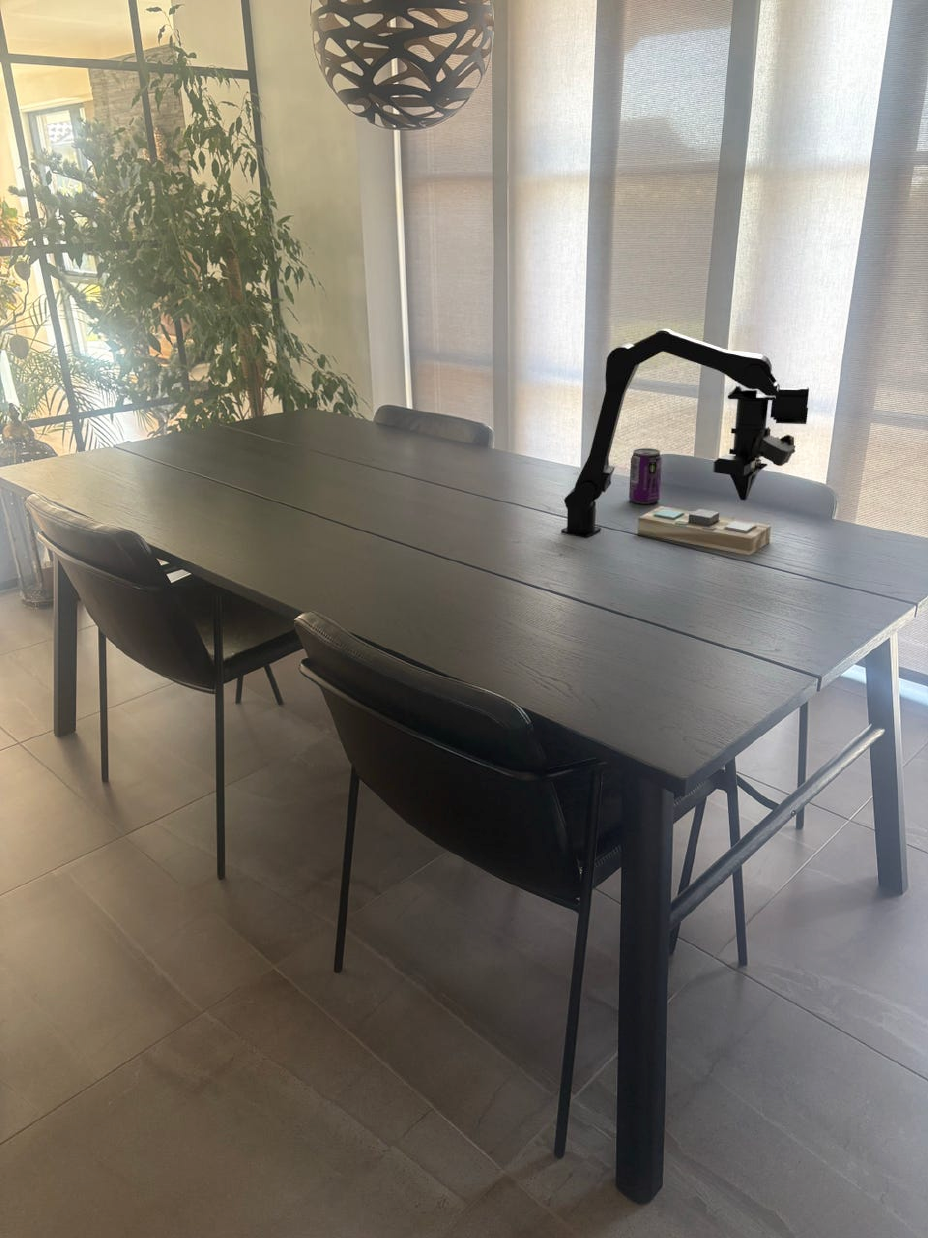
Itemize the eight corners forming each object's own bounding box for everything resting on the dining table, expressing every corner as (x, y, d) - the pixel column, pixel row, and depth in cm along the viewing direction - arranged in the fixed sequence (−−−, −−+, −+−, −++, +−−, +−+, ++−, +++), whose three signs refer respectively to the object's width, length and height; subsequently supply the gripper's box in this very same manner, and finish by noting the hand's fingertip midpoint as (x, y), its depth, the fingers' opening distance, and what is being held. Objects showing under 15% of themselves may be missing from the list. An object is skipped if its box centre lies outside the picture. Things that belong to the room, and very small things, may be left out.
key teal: (672, 531, 197) (673, 517, 196) (653, 527, 200) (654, 513, 198) (682, 525, 200) (683, 512, 199) (663, 521, 203) (664, 508, 202)
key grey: (745, 544, 188) (746, 530, 186) (723, 540, 190) (724, 526, 189) (754, 538, 191) (755, 524, 190) (733, 534, 194) (734, 520, 192)
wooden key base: (749, 555, 185) (751, 537, 183) (637, 533, 199) (638, 516, 198) (769, 541, 192) (771, 524, 190) (659, 521, 206) (660, 505, 205)
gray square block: (708, 531, 192) (709, 517, 191) (688, 527, 194) (689, 514, 193) (718, 526, 195) (719, 512, 194) (697, 522, 198) (698, 508, 196)
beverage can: (659, 505, 217) (662, 455, 212) (628, 504, 219) (630, 454, 214) (659, 497, 224) (662, 447, 219) (629, 496, 225) (631, 447, 220)
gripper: (772, 435, 170) (764, 518, 176) (809, 417, 183) (800, 494, 189) (715, 429, 176) (709, 508, 182) (754, 412, 189) (747, 487, 196)
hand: (743, 499), depth 187 cm, fingers closed
